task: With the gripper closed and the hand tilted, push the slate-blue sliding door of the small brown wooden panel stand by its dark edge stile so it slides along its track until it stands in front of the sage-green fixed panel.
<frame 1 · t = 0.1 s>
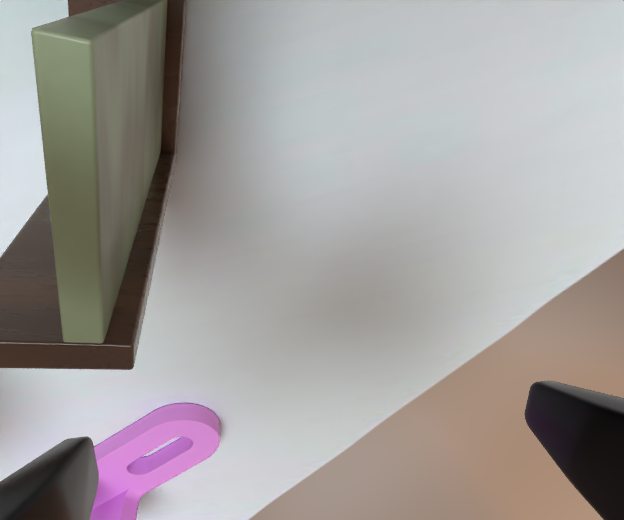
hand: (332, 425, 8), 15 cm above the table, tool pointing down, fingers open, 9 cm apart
bracket: (143, 447, 32), on the table
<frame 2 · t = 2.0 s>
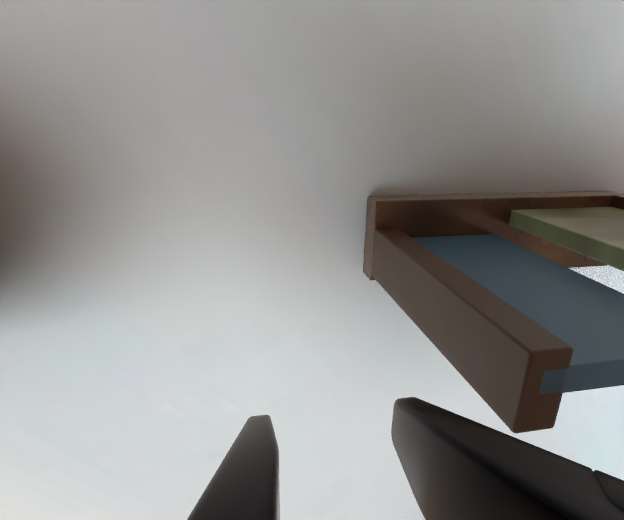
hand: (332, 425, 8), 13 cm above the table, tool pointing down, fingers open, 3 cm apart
sliding door: (501, 294, 16), point 7 cm above the table, slide at 0.0 cm
brown wooden panel stand: (488, 230, 23), on the table
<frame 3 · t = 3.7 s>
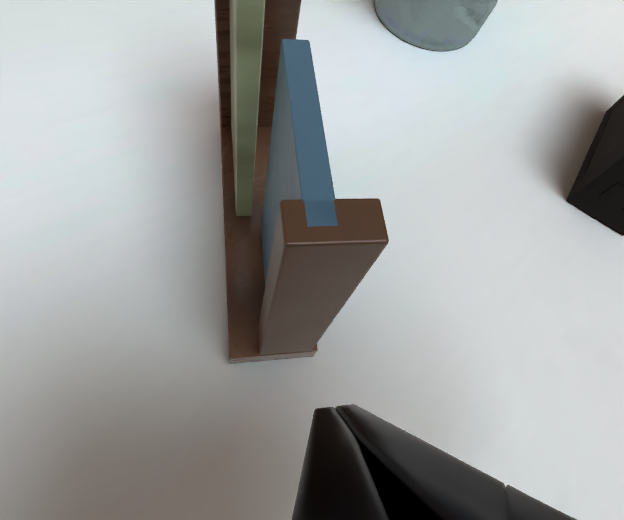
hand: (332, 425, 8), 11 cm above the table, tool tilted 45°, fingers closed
sliding door: (293, 233, 15), point 7 cm above the table, slide at 0.0 cm
brown wooden panel stand: (262, 230, 23), on the table
digital camera: (619, 176, 29), on the table
embossed grey plant pot: (427, 15, 34), on the table
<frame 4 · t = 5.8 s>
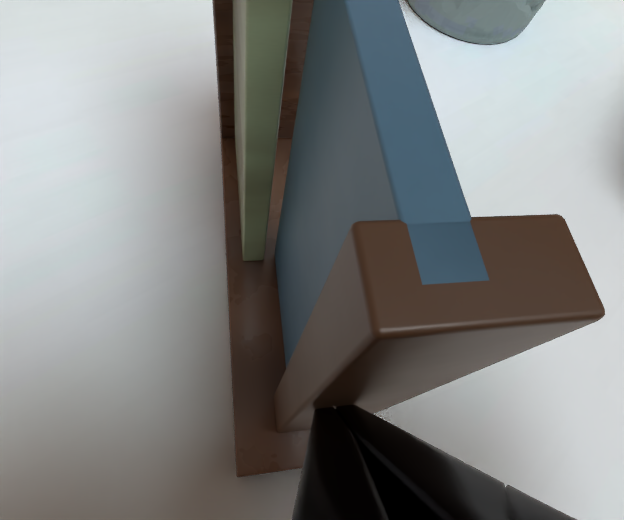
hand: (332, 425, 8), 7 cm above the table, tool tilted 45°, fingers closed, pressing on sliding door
sliding door: (331, 266, 10), point 7 cm above the table, slide at 1.1 cm, touching gripper
brown wooden panel stand: (277, 277, 17), on the table
embossed grey plant pot: (467, 4, 28), on the table
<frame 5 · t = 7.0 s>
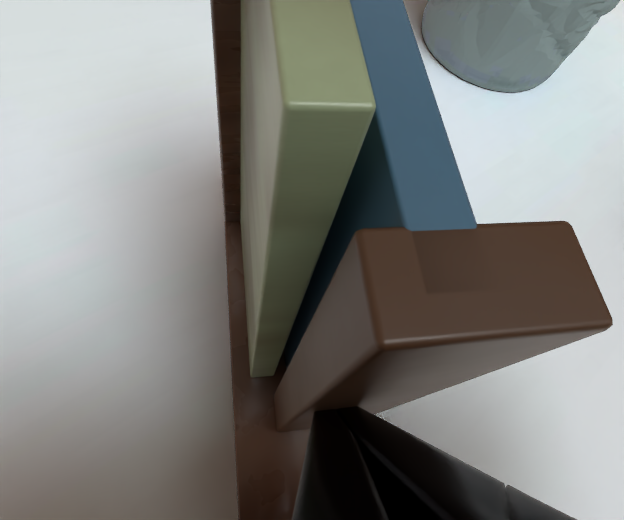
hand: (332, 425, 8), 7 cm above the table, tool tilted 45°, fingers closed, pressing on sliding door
sliding door: (332, 266, 10), point 7 cm above the table, slide at 5.4 cm, touching gripper
brown wooden panel stand: (289, 385, 15), on the table
embossed grey plant pot: (488, 44, 26), on the table
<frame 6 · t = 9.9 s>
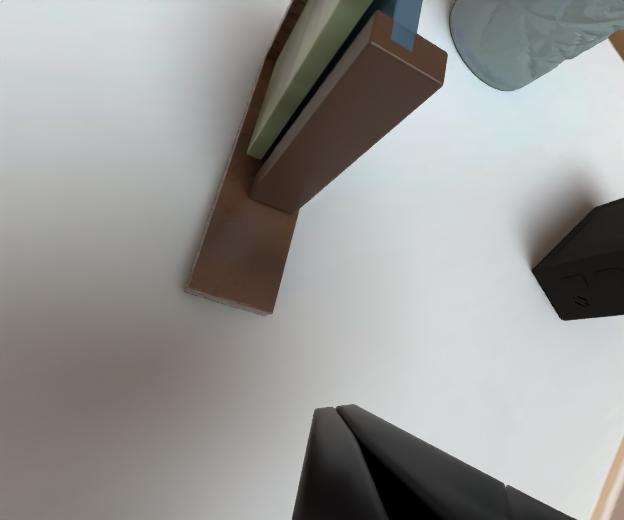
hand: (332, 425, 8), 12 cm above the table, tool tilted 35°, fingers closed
sliding door: (335, 90, 17), point 7 cm above the table, slide at 5.0 cm
brown wooden panel stand: (263, 178, 22), on the table
digital camera: (580, 268, 32), on the table
embossed grey plant pot: (492, 46, 34), on the table
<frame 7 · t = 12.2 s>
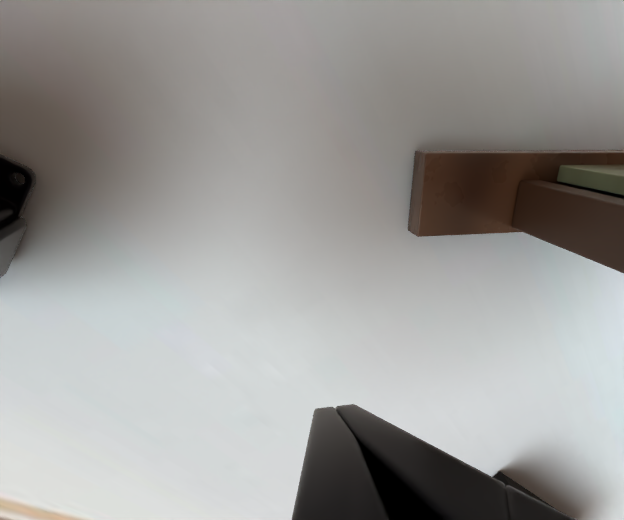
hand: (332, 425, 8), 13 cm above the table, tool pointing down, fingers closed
brown wooden panel stand: (533, 189, 22), on the table
digital camera: (511, 519, 32), on the table
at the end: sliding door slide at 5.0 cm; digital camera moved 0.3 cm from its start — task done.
